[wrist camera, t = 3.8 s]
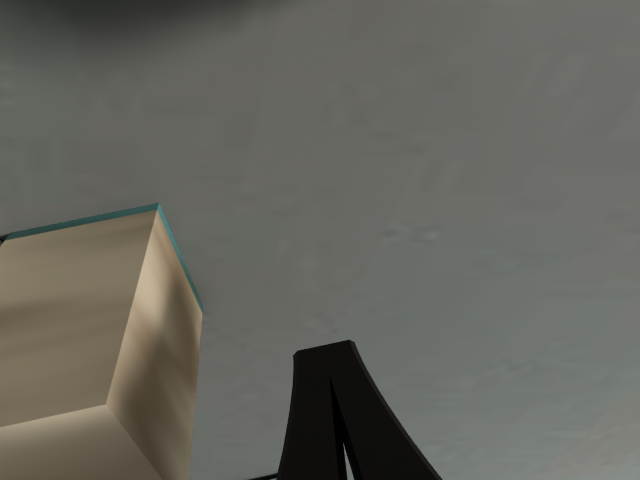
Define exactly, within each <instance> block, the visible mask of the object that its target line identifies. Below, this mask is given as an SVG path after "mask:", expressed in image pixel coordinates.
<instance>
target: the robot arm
mask: <svg viewBox="0 0 640 480" xmlns="http://www.w3.org/2000/svg"><path fill="white" fill-rule="evenodd" d="M293 360H294V370H293V387H292V396H291V404H290V412H289V418H288V424H287V429H286V435H285V441H284V447H283V452H282V456H281V461H280V465H279V469H278V474H277V478H274V479H270V480H347V472H346V463H345V455H344V446H345V450H346V453H347V456H348V460H349V463H350V467H351V470H352V473H353V477H354V480H442V478H441V477H440V476H439V475H438V473H437V472H436V471H435V470H434V468H433V467H432V466H431V464H430V463H429V462H428V461H427V459H426V458H425V457H424V455H423V454H422V453H421V451H420V450H419V449H418V447H417V446H416V445H415V443H414V442H413V441H412V439H411V438H410V436H409V435H408V434H407V432H406V431H405V429H404V428H403V426H402V425H401V424H400V422H399V421H398V419H397V418H396V416H395V415H394V413H393V412H392V410H391V409H390V407H389V406H388V404H387V403H386V401H385V399H384V398H383V396H382V395H381V393H380V391H379V390H378V388H377V386H376V385H375V383H374V381H373V379H372V378H371V376H370V374H369V372H368V371H367V369H366V367H365V365H364V363H363V361H362V359H361V357H360V355H359V352H358V350H357V348H356V345H355V342H353V341H351V340H346V341H341V342H337V343H332V344H327V345H323V346H318V347H313V348H309V349H304V350H299V351H297V352H296V353H295V354H294V355H293ZM338 419H339V420H338ZM343 443H344V446H343Z"/></svg>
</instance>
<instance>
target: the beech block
mask: <svg viewBox="0 0 640 480" xmlns="http://www.w3.org/2000/svg"><path fill="white" fill-rule="evenodd" d="M202 313H203V305H202V303H201V301H200V298H199V296H198V294H197V291H196V289H195V287H194V284H193V282H192V280H191V277H190V275H189V273H188V270H187V268H186V266H185V263H184V261H183V258H182V256H181V254H180V251H179V249H178V247H177V244H176V242H175V240H174V237H173V235H172V233H171V230H170V228H169V226H168V223H167V221H166V218H165V216H164V214H163V211H162V209H161V207H160V204H159V203H157V204H152V205H147V206H142V207H137V208H132V209H127V210H122V211H117V212H112V213H107V214H102V215H97V216H92V217H87V218H82V219H77V220H72V221H67V222H62V223H58V224H53V225H48V226H43V227H38V228H33V229H28V230H23V231H18V232H13V233H10V234H9V235H8V237H7V238H6V239H5V241H4V242H3V244H2V245H1V247H0V480H189V472H190V460H191V448H192V436H193V423H194V411H195V399H196V386H197V374H198V362H199V350H200V337H201V325H202Z"/></svg>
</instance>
